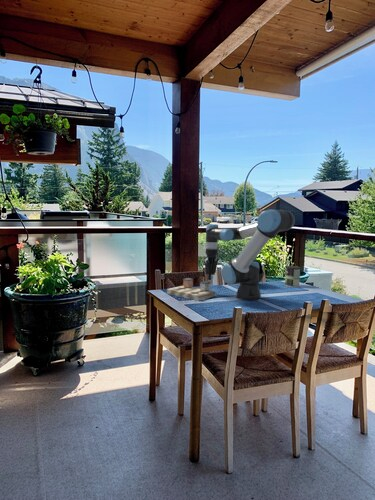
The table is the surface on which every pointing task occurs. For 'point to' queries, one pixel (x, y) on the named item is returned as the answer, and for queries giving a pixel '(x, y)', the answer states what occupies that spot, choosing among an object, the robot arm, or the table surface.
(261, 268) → the dark grey cylinder
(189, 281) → the fader terracotta
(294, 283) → the coffee can
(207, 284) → the fader grey
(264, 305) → the table surface
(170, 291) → the tan muffin tray
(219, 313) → the table surface
